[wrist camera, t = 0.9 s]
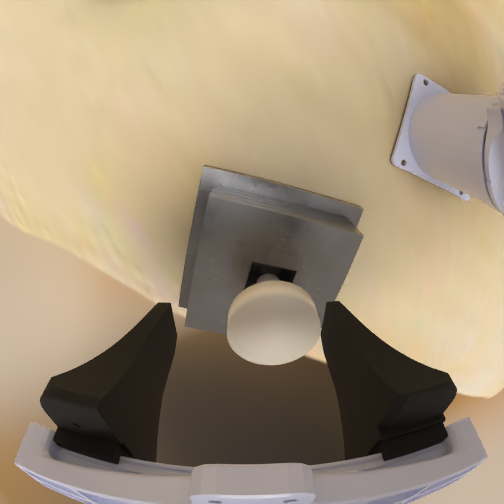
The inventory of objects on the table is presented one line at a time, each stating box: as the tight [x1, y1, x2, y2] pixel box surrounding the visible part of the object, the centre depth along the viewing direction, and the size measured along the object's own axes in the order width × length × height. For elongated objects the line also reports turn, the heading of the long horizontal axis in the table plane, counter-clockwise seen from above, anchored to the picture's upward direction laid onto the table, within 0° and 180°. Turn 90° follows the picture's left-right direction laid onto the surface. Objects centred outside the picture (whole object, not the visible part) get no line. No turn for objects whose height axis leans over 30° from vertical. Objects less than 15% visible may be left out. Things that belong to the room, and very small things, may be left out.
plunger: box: [227, 274, 321, 365], centre depth 17 cm, size 5×5×5 cm
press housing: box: [179, 165, 363, 335], centre depth 21 cm, size 12×12×4 cm
